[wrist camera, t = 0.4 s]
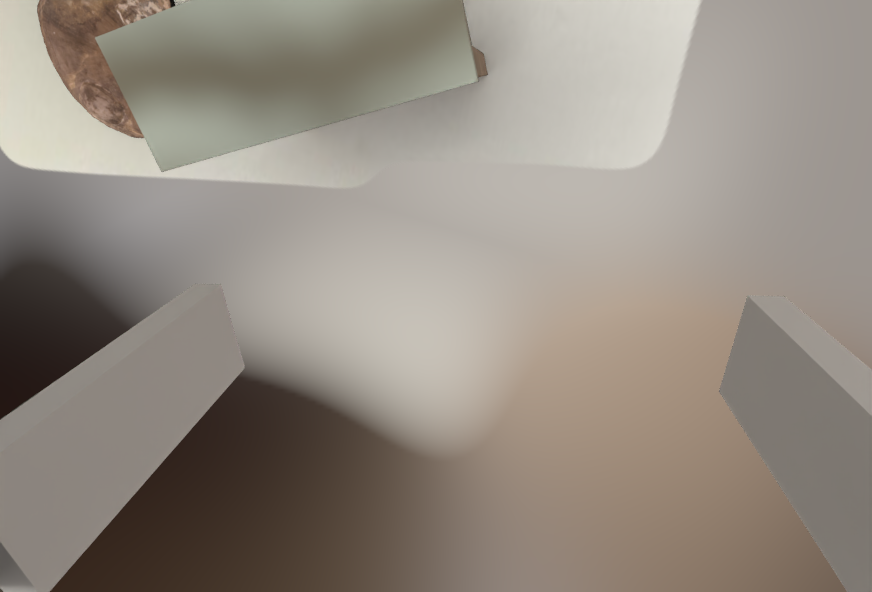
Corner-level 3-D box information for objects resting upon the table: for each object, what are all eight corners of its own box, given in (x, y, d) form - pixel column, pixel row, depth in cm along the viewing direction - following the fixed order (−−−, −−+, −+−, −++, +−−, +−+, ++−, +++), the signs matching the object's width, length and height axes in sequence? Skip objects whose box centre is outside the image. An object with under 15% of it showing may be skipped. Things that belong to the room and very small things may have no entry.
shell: (67, 116, 40) (29, 120, 37) (44, -56, 34) (-4, -69, 31) (189, 151, 40) (161, 157, 37) (186, -17, 34) (152, -26, 31)
